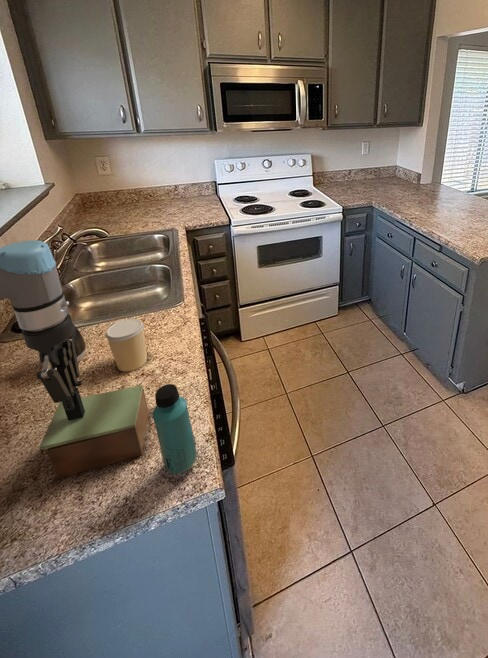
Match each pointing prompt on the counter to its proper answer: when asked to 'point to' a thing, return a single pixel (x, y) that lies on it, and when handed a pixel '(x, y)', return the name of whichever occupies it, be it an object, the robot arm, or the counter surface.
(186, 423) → the beverage bottle
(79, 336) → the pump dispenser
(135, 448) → the brown wooden box
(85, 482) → the counter surface
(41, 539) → the counter surface
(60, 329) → the robot arm
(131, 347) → the coffee cup
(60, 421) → the lid
